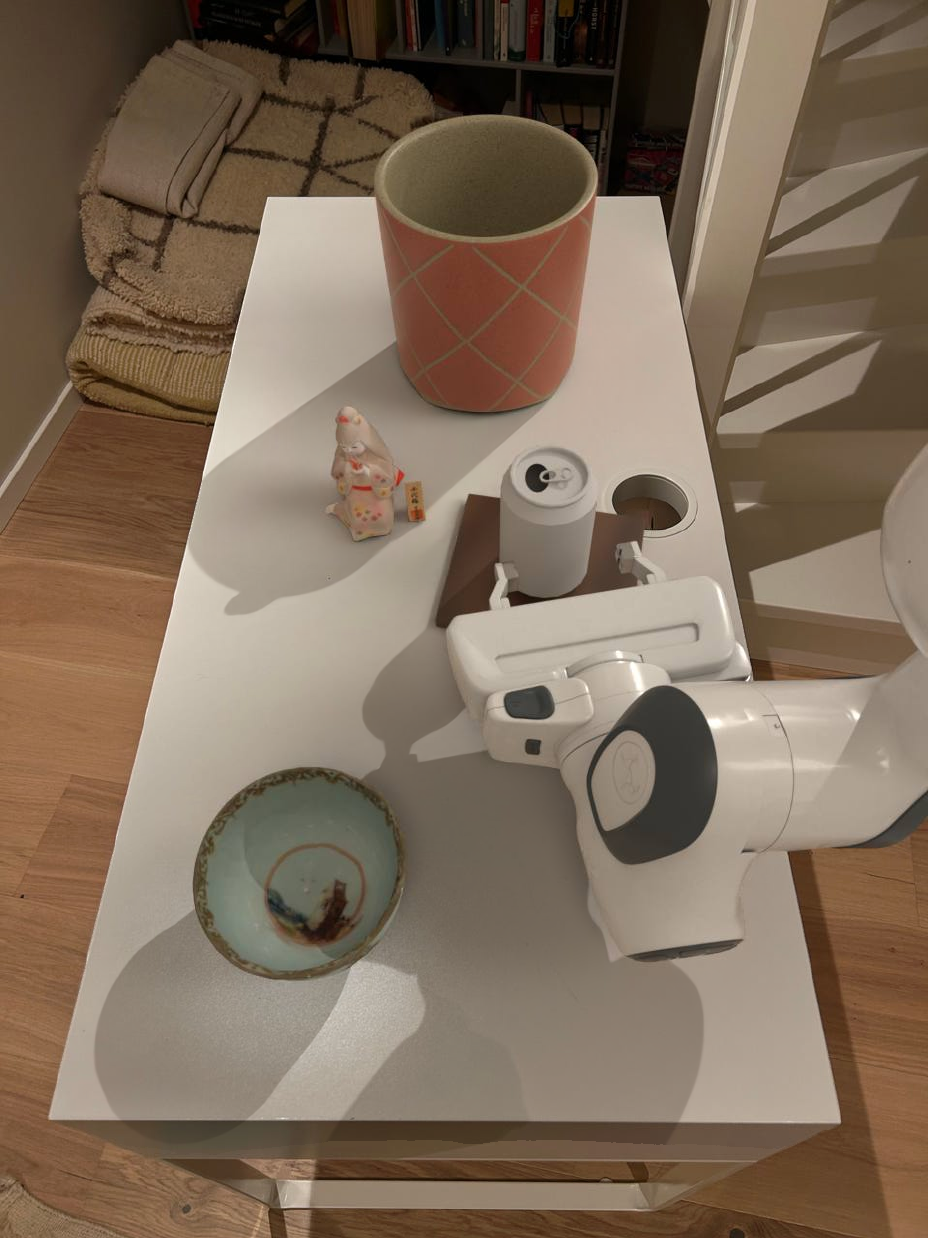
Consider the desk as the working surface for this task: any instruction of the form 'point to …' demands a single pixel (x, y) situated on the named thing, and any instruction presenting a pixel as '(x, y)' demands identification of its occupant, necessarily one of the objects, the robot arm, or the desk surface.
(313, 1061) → the desk surface
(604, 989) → the desk surface
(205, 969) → the desk surface
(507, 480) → the can
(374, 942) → the bowl
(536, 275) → the planter
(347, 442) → the figurine
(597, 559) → the board
